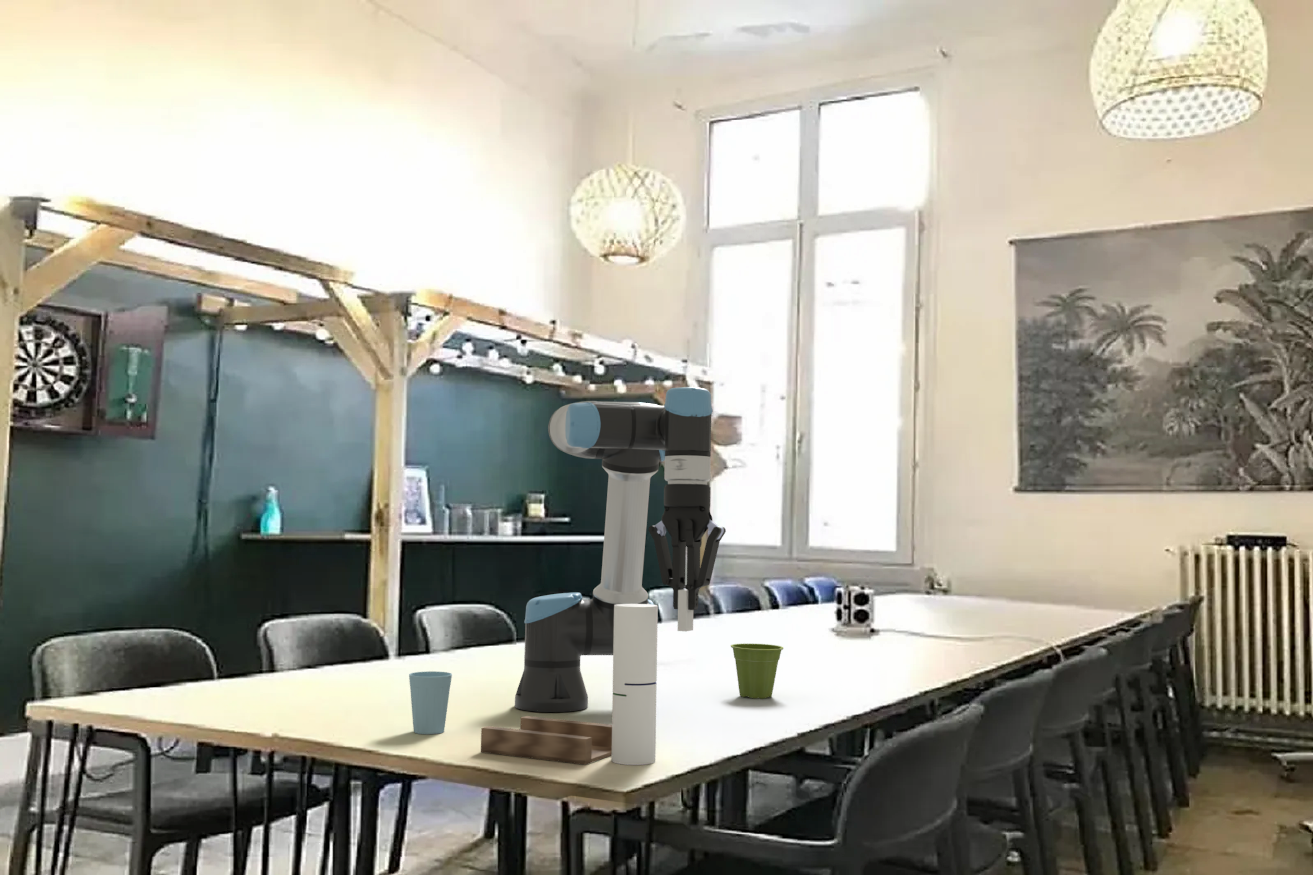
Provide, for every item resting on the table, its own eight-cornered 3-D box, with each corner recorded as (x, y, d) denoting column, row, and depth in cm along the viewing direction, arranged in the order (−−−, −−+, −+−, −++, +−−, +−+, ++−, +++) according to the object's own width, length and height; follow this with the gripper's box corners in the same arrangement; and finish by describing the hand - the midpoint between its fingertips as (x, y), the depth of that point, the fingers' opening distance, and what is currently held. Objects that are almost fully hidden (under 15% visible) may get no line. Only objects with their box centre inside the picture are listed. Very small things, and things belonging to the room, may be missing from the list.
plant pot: (749, 702, 257) (750, 649, 257) (719, 694, 267) (720, 644, 268) (793, 698, 262) (794, 647, 263) (762, 691, 273) (763, 642, 274)
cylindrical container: (650, 766, 188) (652, 607, 189) (606, 763, 189) (609, 606, 191) (659, 757, 195) (661, 604, 196) (617, 755, 196) (619, 603, 198)
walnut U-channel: (480, 752, 197) (481, 727, 197) (526, 739, 209) (526, 716, 209) (585, 764, 188) (585, 739, 188) (626, 750, 200) (626, 726, 201)
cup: (448, 735, 211) (449, 676, 212) (404, 735, 211) (406, 676, 212) (452, 728, 219) (454, 671, 220) (410, 728, 218) (412, 671, 219)
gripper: (640, 482, 191) (638, 630, 189) (715, 482, 185) (713, 634, 183) (661, 484, 197) (659, 626, 196) (733, 484, 192) (732, 631, 190)
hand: (685, 630), depth 189 cm, fingers closed
